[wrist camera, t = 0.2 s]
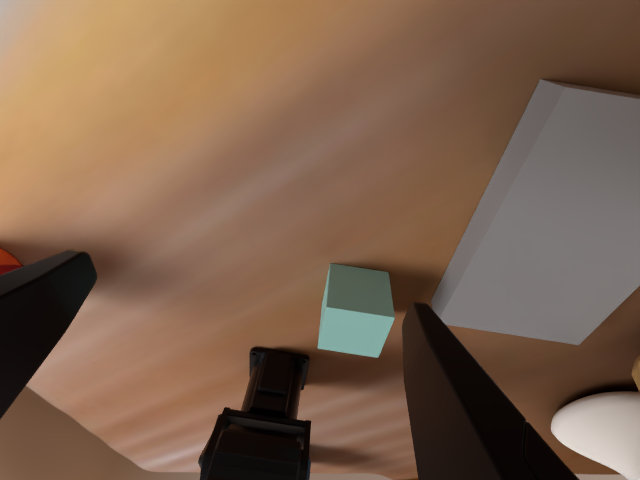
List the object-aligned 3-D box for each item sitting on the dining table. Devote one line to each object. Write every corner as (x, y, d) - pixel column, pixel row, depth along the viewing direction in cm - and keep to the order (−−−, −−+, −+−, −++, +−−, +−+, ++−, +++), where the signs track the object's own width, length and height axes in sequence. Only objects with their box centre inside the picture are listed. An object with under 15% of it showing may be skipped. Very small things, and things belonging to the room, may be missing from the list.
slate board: (562, 321, 28) (578, 345, 26) (430, 301, 28) (437, 323, 26) (750, 113, 17) (803, 125, 15) (540, 79, 17) (565, 87, 15)
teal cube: (374, 310, 29) (378, 357, 25) (322, 302, 29) (317, 348, 25) (388, 271, 26) (394, 317, 22) (330, 262, 26) (326, 306, 22)
